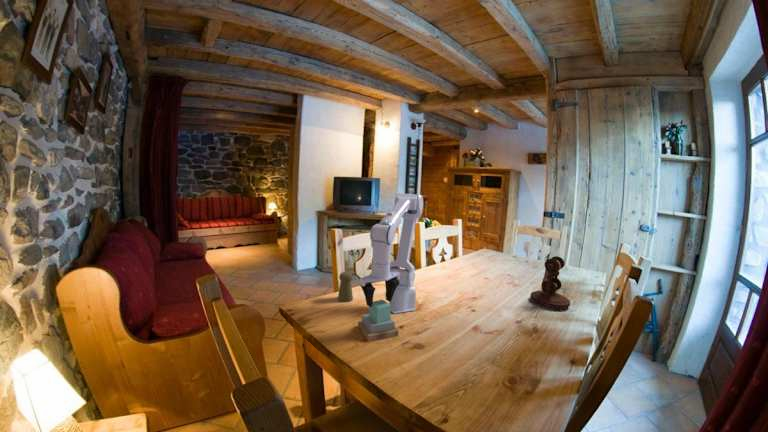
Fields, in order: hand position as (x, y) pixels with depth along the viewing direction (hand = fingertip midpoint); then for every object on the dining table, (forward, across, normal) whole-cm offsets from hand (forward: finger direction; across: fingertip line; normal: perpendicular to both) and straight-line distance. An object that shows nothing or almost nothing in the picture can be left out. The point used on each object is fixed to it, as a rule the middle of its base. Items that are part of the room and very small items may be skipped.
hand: (379, 303), depth 97 cm
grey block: (+8, 0, 0) cm, 8 cm away
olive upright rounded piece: (+10, -3, -27) cm, 29 cm away
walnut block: (+10, 0, 0) cm, 10 cm away
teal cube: (+5, 0, 0) cm, 5 cm away
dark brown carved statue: (+10, -76, +19) cm, 79 cm away
